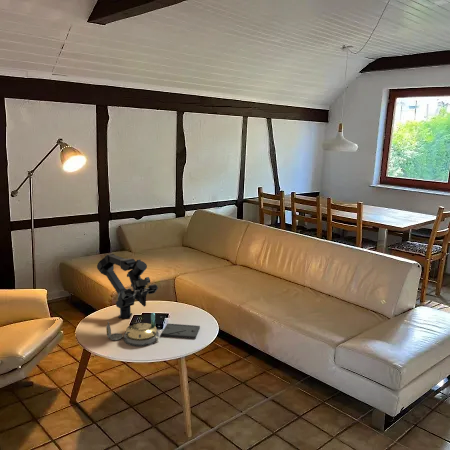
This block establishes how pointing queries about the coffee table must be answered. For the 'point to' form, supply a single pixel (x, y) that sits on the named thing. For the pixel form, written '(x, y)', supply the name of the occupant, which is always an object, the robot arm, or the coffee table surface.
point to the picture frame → (180, 331)
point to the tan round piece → (142, 330)
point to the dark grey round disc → (141, 343)
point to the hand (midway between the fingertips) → (144, 306)
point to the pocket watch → (112, 336)
